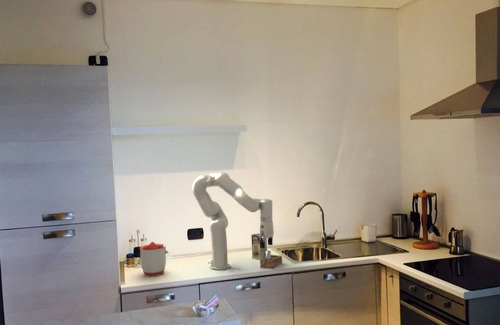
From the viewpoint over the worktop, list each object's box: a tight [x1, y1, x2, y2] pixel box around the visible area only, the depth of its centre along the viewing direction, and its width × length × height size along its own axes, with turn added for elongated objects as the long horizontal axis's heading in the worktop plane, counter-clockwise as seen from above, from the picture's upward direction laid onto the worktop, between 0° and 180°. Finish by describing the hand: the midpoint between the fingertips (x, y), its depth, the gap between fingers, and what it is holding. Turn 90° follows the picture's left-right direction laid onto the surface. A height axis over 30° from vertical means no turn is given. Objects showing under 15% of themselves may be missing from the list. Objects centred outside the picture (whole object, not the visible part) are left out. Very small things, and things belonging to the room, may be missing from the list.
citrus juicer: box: [139, 241, 169, 277], centre depth 288 cm, size 16×17×20 cm
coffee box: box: [251, 233, 268, 261], centre depth 314 cm, size 9×6×16 cm
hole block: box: [259, 254, 283, 270], centre depth 295 cm, size 8×14×5 cm, turn 149°
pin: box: [266, 250, 272, 260], centre depth 292 cm, size 3×3×10 cm
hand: (266, 246), depth 292 cm, fingers open, 9 cm apart
